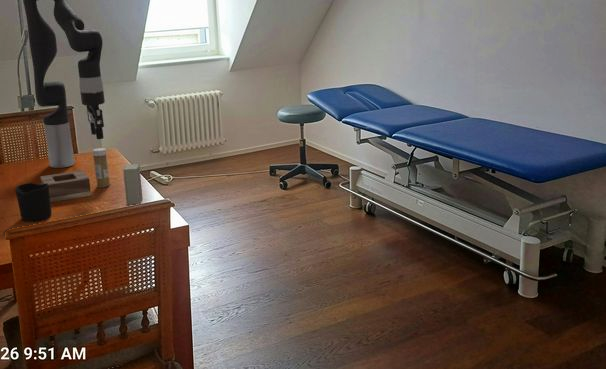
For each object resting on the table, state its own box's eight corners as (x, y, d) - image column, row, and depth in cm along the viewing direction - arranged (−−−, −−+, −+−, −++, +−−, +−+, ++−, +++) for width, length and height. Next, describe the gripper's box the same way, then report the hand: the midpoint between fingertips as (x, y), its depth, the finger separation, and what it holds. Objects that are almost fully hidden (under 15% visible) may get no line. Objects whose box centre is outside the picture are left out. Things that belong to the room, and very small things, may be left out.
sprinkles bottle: (111, 186, 225) (107, 149, 221) (98, 188, 223) (94, 151, 219) (107, 183, 229) (103, 147, 225) (95, 185, 226) (90, 149, 222)
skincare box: (129, 199, 211) (125, 164, 207) (143, 198, 211) (139, 163, 207) (126, 205, 205) (122, 169, 201) (140, 204, 205) (136, 168, 201)
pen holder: (46, 210, 202) (41, 180, 199) (57, 217, 195) (53, 186, 192) (16, 217, 196) (10, 186, 193) (26, 225, 189) (21, 193, 186)
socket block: (42, 193, 219) (40, 176, 217) (84, 186, 225) (82, 170, 224) (47, 202, 209) (45, 185, 207) (91, 195, 215) (89, 178, 214)
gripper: (76, 88, 220) (82, 134, 225) (84, 93, 208) (90, 142, 213) (98, 86, 223) (104, 131, 228) (107, 91, 211) (113, 139, 216)
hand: (97, 136), depth 220 cm, fingers open, 8 cm apart
